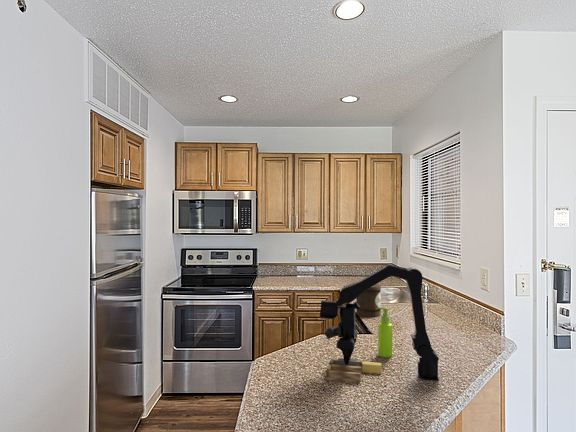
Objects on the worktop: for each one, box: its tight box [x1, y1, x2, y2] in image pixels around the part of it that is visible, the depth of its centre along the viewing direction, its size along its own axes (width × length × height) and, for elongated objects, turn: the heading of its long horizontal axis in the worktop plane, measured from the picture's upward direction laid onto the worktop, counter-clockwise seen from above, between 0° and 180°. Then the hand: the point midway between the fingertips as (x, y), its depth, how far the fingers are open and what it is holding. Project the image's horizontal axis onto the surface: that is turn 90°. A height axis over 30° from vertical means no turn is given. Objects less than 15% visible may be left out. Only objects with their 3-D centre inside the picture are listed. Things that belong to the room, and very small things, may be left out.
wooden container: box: [355, 283, 382, 318], centre depth 256 cm, size 15×15×22 cm
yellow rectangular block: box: [362, 360, 382, 375], centre depth 157 cm, size 7×3×3 cm, turn 77°
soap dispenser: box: [376, 306, 393, 358], centre depth 177 cm, size 6×7×20 cm
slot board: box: [325, 358, 363, 384], centre depth 154 cm, size 12×14×3 cm
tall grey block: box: [337, 357, 358, 366], centre depth 157 cm, size 7×3×3 cm, turn 80°
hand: (347, 361), depth 157 cm, fingers open, 7 cm apart
